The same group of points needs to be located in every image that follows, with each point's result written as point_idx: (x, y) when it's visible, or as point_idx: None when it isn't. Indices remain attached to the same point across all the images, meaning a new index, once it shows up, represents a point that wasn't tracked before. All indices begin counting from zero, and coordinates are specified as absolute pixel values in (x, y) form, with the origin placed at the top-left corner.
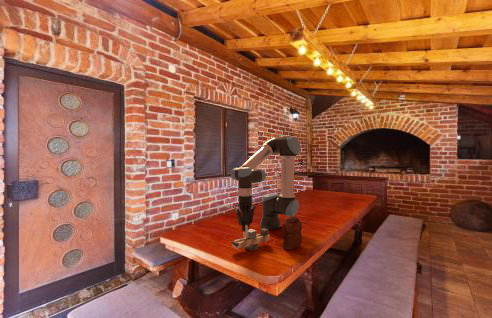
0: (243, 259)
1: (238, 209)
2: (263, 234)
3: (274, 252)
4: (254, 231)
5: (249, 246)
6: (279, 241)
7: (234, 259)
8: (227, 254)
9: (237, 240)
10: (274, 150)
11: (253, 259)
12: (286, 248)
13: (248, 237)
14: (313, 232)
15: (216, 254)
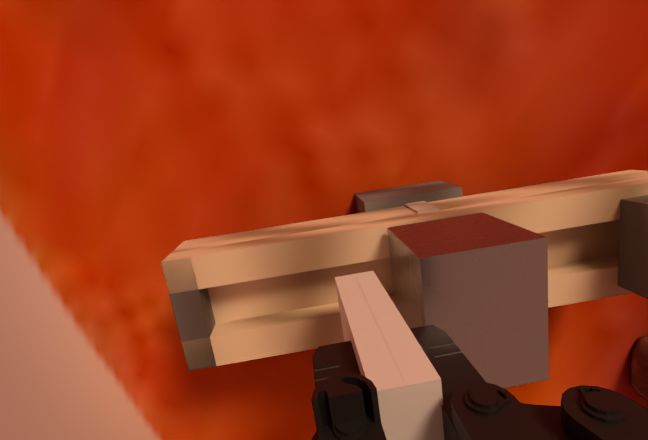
0: (239, 400)
1: None
2: (628, 269)
3: (521, 386)
4: (511, 386)
5: None
6: None
7: (168, 373)
8: (138, 261)
9: (237, 281)
10: None
11: (311, 428)
12: (639, 393)
13: (397, 299)
14: None
15: (31, 215)
